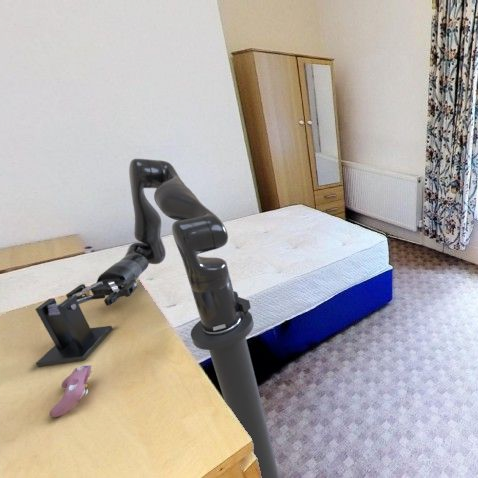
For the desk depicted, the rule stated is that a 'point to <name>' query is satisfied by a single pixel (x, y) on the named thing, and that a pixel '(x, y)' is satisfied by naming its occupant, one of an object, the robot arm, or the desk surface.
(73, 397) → the pink curved piece
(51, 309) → the lever
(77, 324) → the bracket
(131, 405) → the desk surface
